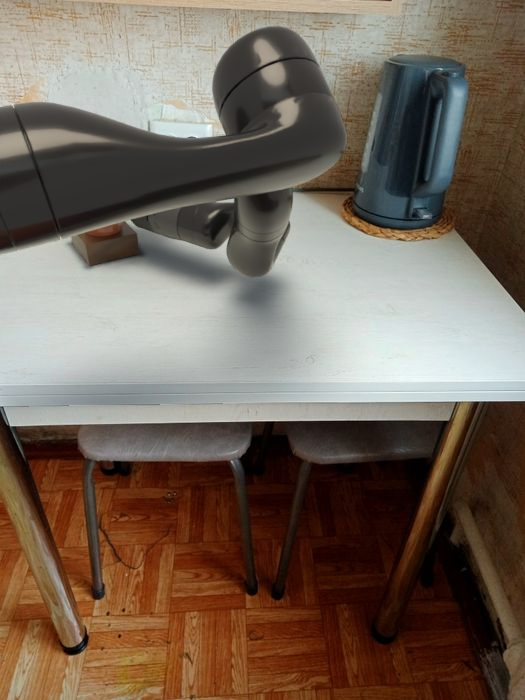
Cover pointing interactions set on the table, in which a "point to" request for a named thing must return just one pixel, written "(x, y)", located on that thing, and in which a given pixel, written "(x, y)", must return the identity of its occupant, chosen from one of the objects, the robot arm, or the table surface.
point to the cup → (106, 230)
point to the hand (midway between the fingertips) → (86, 185)
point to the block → (107, 245)
